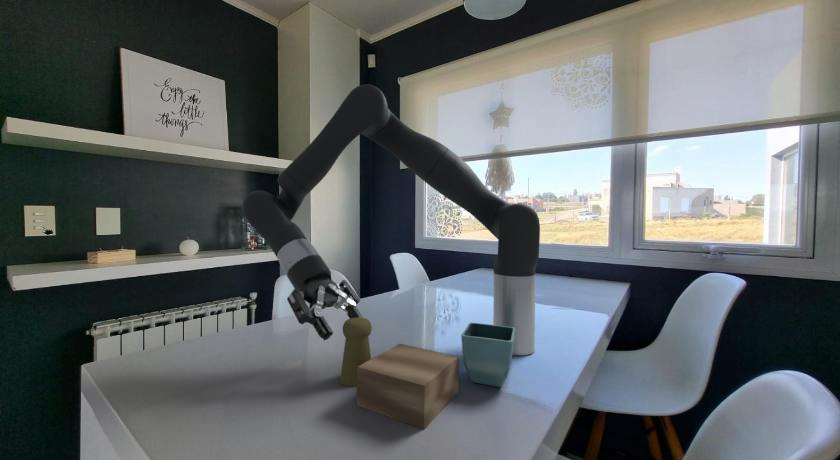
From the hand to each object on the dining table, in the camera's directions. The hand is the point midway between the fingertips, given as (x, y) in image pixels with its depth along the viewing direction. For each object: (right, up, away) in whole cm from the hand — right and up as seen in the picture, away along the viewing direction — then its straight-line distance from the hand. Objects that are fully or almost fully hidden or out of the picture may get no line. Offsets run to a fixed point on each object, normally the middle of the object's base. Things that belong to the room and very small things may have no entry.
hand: (345, 330), depth 62 cm
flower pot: (+27, -9, -1) cm, 28 cm away
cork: (+2, -9, -1) cm, 9 cm away
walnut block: (+12, -8, -8) cm, 17 cm away
